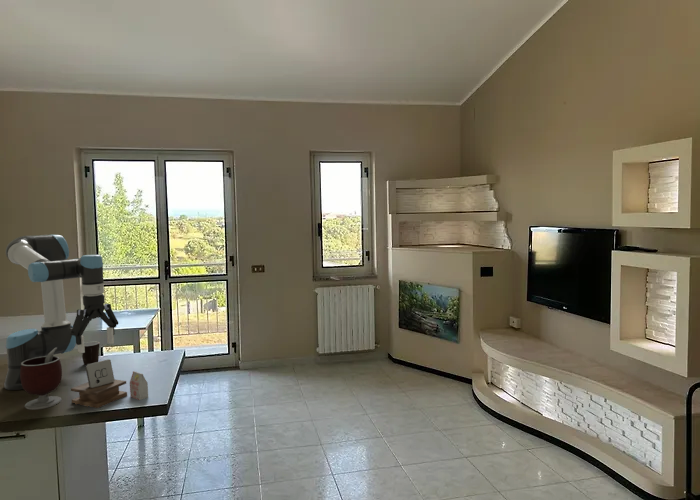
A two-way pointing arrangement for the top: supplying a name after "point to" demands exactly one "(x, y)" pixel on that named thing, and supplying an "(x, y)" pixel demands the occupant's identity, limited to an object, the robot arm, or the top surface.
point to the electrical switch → (99, 373)
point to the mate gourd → (41, 380)
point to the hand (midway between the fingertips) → (96, 347)
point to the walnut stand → (98, 394)
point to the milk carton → (138, 386)
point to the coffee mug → (91, 353)
